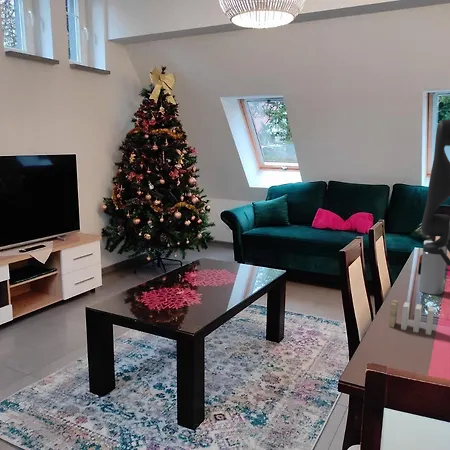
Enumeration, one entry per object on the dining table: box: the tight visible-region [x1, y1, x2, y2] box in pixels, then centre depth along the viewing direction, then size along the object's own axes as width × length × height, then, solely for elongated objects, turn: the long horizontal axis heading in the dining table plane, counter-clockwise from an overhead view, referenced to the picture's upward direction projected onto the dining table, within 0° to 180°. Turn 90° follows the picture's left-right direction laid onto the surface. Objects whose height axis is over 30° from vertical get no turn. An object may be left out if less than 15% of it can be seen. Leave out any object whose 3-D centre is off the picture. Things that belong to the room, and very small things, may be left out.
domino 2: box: [400, 301, 411, 331], centre depth 152 cm, size 5×2×8 cm, turn 152°
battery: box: [417, 253, 423, 275], centre depth 220 cm, size 4×7×10 cm, turn 146°
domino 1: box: [388, 299, 399, 328], centre depth 154 cm, size 5×2×8 cm, turn 152°
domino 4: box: [425, 305, 435, 336], centre depth 149 cm, size 5×2×8 cm, turn 152°
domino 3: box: [412, 303, 423, 333], centre depth 150 cm, size 5×2×8 cm, turn 152°
